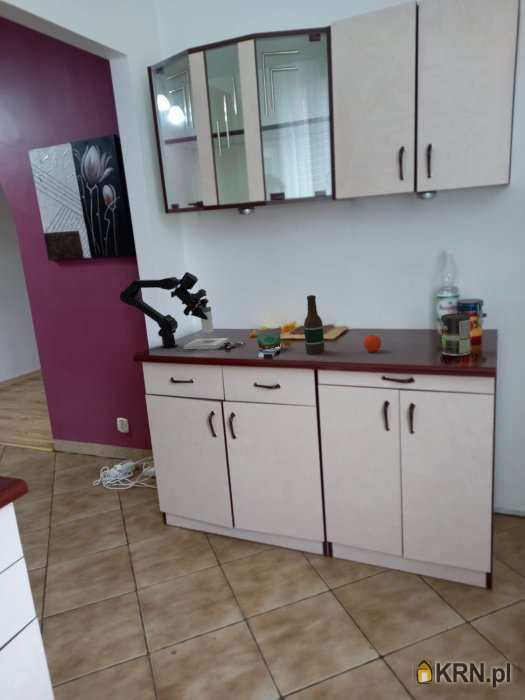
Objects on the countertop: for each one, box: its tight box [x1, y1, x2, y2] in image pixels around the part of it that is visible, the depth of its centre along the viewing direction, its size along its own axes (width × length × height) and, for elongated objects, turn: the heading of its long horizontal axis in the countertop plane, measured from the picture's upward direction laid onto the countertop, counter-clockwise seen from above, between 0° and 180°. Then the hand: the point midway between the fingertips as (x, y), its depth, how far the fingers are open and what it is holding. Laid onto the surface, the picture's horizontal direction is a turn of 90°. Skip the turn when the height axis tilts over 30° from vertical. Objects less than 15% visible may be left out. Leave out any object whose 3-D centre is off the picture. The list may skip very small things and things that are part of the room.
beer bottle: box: [303, 294, 325, 356], centre depth 216 cm, size 8×8×24 cm
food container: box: [254, 326, 283, 352], centre depth 229 cm, size 12×6×10 cm, turn 105°
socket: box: [183, 337, 230, 350], centre depth 254 cm, size 17×15×2 cm
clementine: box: [363, 334, 382, 353], centre depth 211 cm, size 8×7×7 cm
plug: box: [200, 306, 214, 334], centre depth 251 cm, size 4×4×12 cm
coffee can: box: [440, 313, 471, 357], centre depth 196 cm, size 10×10×14 cm
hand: (209, 318), depth 251 cm, fingers closed on plug, 4 cm apart
